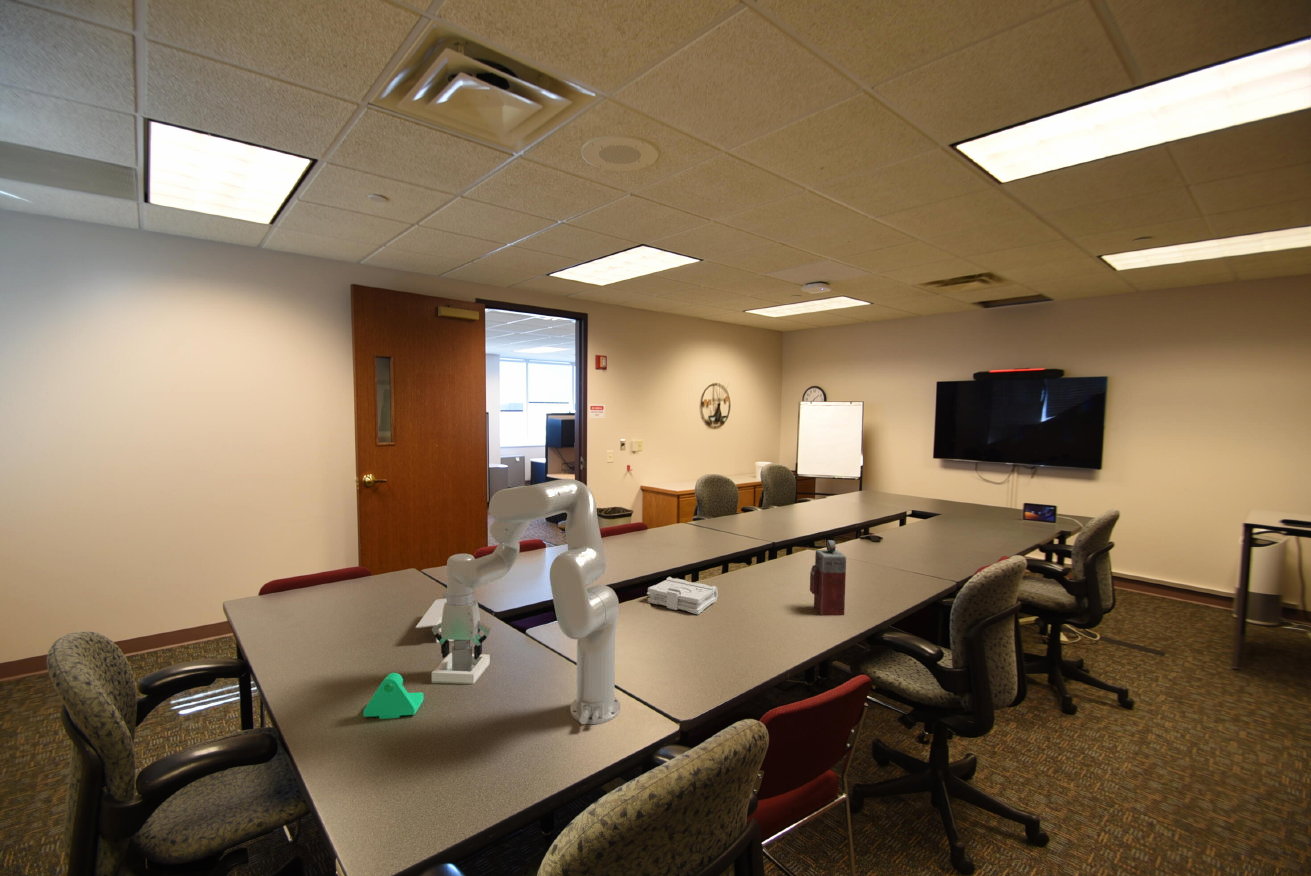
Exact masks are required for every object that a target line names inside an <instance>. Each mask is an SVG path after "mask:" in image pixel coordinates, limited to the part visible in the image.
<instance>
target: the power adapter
mask: <svg viewBox="0 0 1311 876" xmlns="http://www.w3.org/2000/svg"><path fill="white" fill-rule="evenodd" d="M451 653H452V671H469V672H471V670H472V654H473V644H472V643H471V640H454V641H453V646H452V648H451Z"/></svg>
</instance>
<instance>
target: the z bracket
mask: <svg viewBox="0 0 1311 876" xmlns="http://www.w3.org/2000/svg"><path fill="white" fill-rule="evenodd" d="M446 602H447V599H446V598H439V599H438V598H437V599H435V601H433V603H432V605H430V607H429V608H428V610H427V611H426V612H425V614H424V615H423V616H422V617H421V619H420V620H419V621H418V623H417V625H416V626H415V629H420V628H428V627H434V626H436V625H438V624H439V623H441V622H442V614H443V608H444V604H445V603H446ZM439 631H440V632H441V628H440V629H439ZM448 640H449V643H451V642H453V643H454V640H450V639H448ZM435 642H436V644H440V643H439V641H438V640H437V639H436V638H435Z"/></svg>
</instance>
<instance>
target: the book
mask: <svg viewBox="0 0 1311 876" xmlns="http://www.w3.org/2000/svg"><path fill="white" fill-rule="evenodd" d="M646 595H649V597H647V603H650V604H653V605H654V604H655V605H661V606H665V607H666V608H667V609H669V610H675V611H678V610H682V611H687V612H688V613H692V614H694V615H699V614H701V613H702V612H703V611H704V610H705V609H706V608H708V607H709V606H711V604H715V603H716V602H717V600H718V595H719V590H718V587H717V586H716V585H712V586H710V585H708V584H704V583H699V582H697V583H696V582H692V581H691V582H690V581H687V580H685V579H680V578H674V577H673V578H672V577H671V576H668V577H667V578H666V580H663V581H661V582H659V583H657V584H654V585H652V586H649V587H648V588H647V592H646ZM714 602H715V603H714Z"/></svg>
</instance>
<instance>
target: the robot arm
mask: <svg viewBox="0 0 1311 876" xmlns="http://www.w3.org/2000/svg"><path fill="white" fill-rule="evenodd" d="M597 511H598V509H597V504H596V499H595V496H594V494H593V493H592V490H591V489H590V488H589V487H588V485H586V484H585V483H584V482H583V481H582V482H581V481H579V480H577V479H572V478H564V479H555V480H551V481H546V482H541V483H537V484H531V485H520V486H514V487H509V488H504V489H500V490H498V491H497V492H495V493H494V494H493V496H492V497H491V498H490V501H489V505H488V512H489V515H490V517H491V518H492V519H493V522H491V525H490V527H489V534H490V536H491V538H492V539H493V540H494V541H495V542H497V543H498V544H497V546H496V548H495V549H494V551H493V552H492V553H490V554H487V555H484V556H481V557H478V558H475V557H474V555H472V554H469V553H455V554H453V555H451V556H449V557H448V559H447V560H446V561H447V562H446V583H447V584H446V592H445V593H443V594H442V599H447V602H446V603H445V604H444V608H443V614H442V622H441V623H439V624H438V625H436V626H432V628H431V631H432V633H433V635H434V637H435V640H436V639H437V640H438V641H439V643H438V644H440V653H441V654H442V656H441V657H442V659H445V658H446V657H447V656H448V655H449V654H450V642H449V640H448V639H450V640H470V641H473V642H474V644H475V645H474V646H473V654H474V659H478V657H479V656H480V655H481V654H483V642H485V640H487V639H488V638H489V636H490V634H491V632H492V628H490V627H489V626H488V625H486V624H484V623H482V622H481V614H480V609H479V603H478V600H476V589H478V588H481V587H483V586H485V585H487V584H490V583H492V582H495V581H497V580H500V579H502V578H503V577H505V576H506V575H507V574H508V573H509V571H510V570H511V569H512V567H513V566H514V565H515V563H516V561H517V560H518V557H519V555H520V539H521V537H522V536H523V535H524V533H525V531H526V530H527V528H528V526H529V525H530V523H531V522H532V521H537V520H541V519H546V518H549V517H552V516H553V517H554V516H556V515H560V514H562V513H563V514H564V513H566V515H567V517H566V520H565V521H566V522H565V527H564V528H565V529H564V530H565V532H564V533H565V536H566V542H567V550H566V551H564V552H561V553H560V554H559V555H557V556H556V557H555V558H554V559H553V561H552V563H551V565H550V569H549V584H550V590H551V594H552V601H553V605H554V610H555V616H556V620H557V624H558V626H559V628H560V630H561V632H562V633H563V634H564V635H565V636H566V637H567V638H568V639H571V640H576V641H577V642H576V699H574V700H573V701H572V702H571V703H570V707H569V708H570V709H569V710H570V711H569V713H570V715H571V717H572V718H573V719H574V720H575V721H577V722H578V723H580V724H582V725H586V724H587V725H600V724H601V725H602V724H605V723H607V722H610V721H612V720H614V719H615V718H617V716H619V714H620V713H621V702H620V700H619V699H617V698H616V697H615V678H616V677H615V674H616V673H615V672H616V671H615V669H616V667H615V665H616V664H615V663H616V659H615V658H616V632H617V631H616V630H617V624H618V617H619V612H620V611H619V610H620V604H619V598H618V596H617V594H616V592H615V590H614V589H613V588H611V586H610V587H609V586H607V585H605V584H597V585H596V584H595V585H592V586H590V587H587V586H589V585H590V584H593V583H594V582H596V581H597V580H599V579H601V578H602V577H603V576H604V574H605V572H606V569H607V562H606V561H607V560H606V557H605V552H604V551H605V550H604V546H603V541H602V535H601V530H600V526H599V520H598V519H599V518H598V512H597ZM440 628H441V632H440V631H439V629H440ZM481 631H482V632H483V635H481V634H480V633H481Z"/></svg>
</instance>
